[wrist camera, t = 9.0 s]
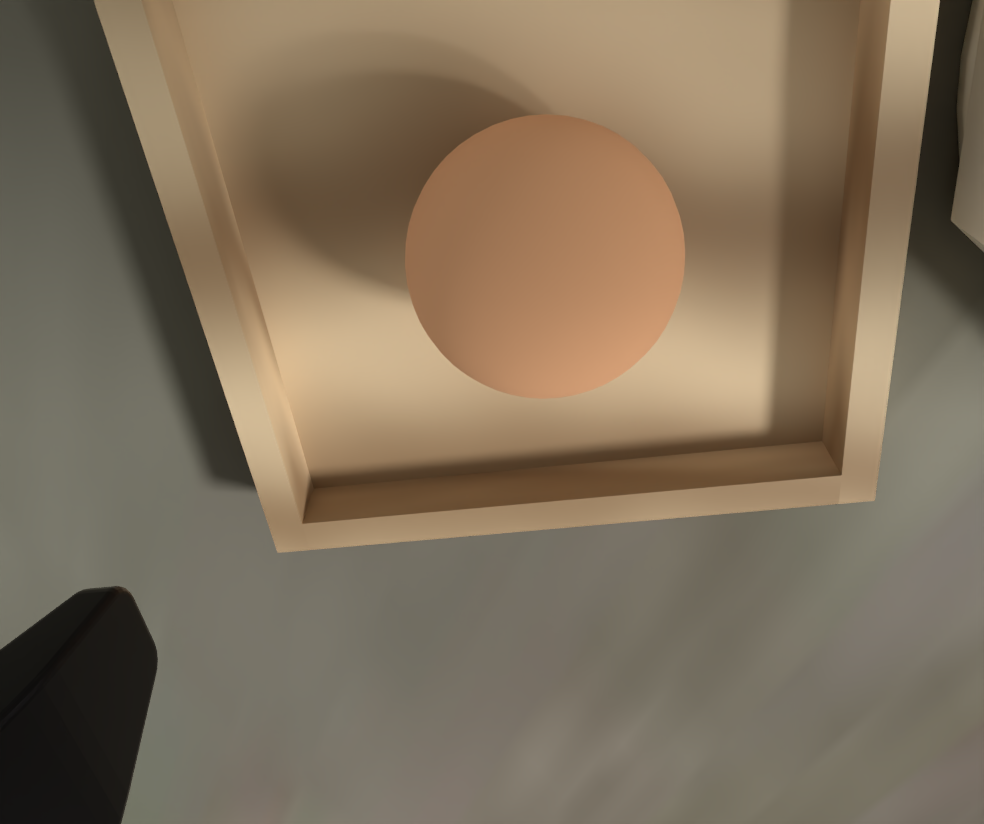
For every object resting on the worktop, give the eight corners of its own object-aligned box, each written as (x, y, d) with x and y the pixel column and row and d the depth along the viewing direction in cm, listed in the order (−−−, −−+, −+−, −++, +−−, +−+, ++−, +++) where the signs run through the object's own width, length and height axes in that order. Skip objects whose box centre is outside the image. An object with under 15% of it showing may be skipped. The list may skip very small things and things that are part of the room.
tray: (842, 447, 21) (874, 500, 19) (297, 497, 22) (277, 553, 21) (914, -254, 14) (976, -276, 12) (107, -127, 15) (50, -129, 13)
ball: (662, 312, 19) (712, 436, 14) (436, 338, 19) (420, 466, 15) (655, 71, 16) (715, 135, 12) (396, 107, 16) (361, 179, 12)
